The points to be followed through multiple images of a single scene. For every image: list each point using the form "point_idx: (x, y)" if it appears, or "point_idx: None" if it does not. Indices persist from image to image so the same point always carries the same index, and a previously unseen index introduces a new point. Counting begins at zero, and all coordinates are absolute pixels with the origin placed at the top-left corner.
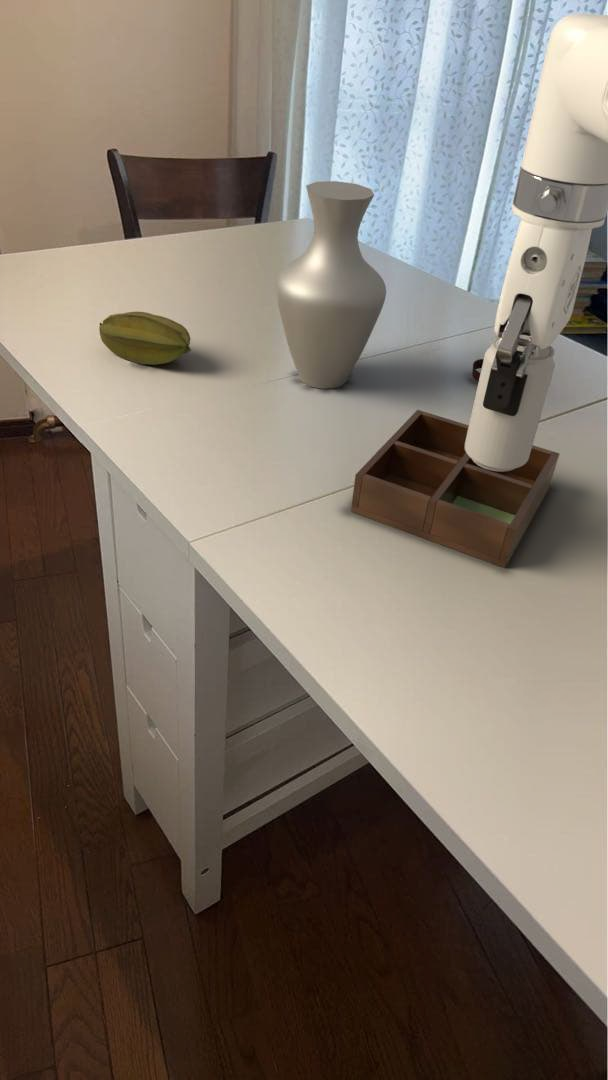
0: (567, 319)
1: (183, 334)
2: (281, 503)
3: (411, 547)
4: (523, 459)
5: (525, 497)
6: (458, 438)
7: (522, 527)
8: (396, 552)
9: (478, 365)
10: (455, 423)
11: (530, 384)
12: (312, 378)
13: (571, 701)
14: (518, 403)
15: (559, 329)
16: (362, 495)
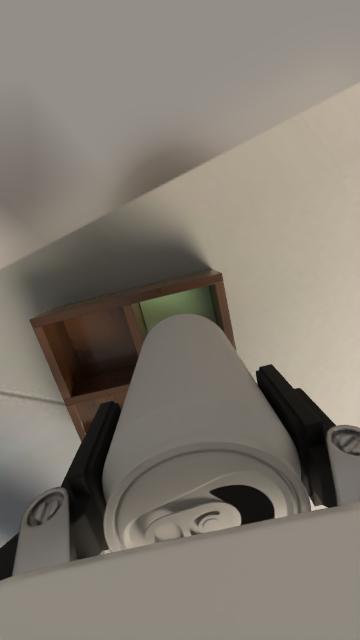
0: (45, 622)
1: None
2: None
3: (246, 345)
4: (194, 316)
5: (134, 304)
6: (87, 414)
7: (174, 281)
8: (261, 349)
9: None
10: (82, 431)
11: (261, 399)
12: (103, 552)
13: (340, 123)
14: (281, 378)
15: (262, 586)
16: None
